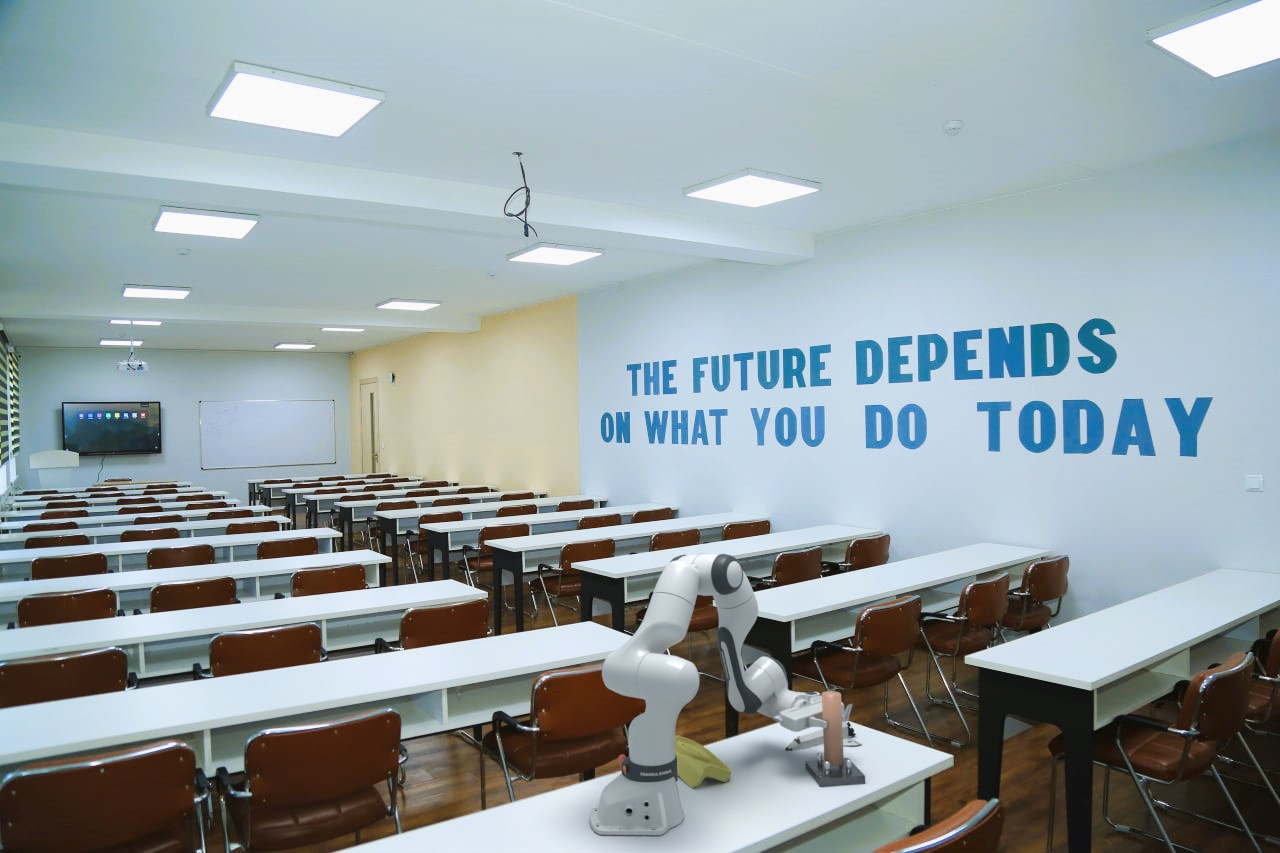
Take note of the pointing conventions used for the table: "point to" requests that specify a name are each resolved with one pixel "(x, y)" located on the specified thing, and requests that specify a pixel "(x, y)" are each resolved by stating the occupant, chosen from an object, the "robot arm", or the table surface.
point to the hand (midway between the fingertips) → (835, 722)
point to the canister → (833, 728)
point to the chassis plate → (834, 772)
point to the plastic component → (698, 763)
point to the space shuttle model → (817, 736)
